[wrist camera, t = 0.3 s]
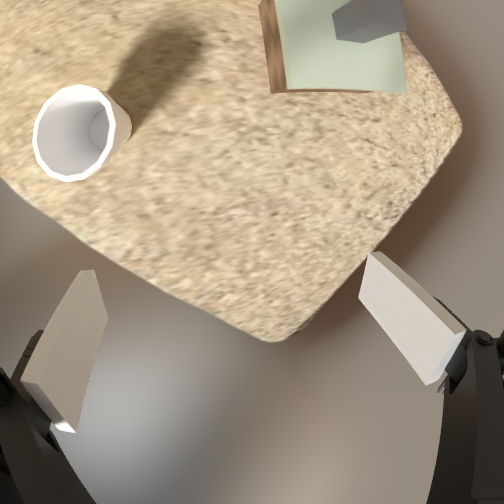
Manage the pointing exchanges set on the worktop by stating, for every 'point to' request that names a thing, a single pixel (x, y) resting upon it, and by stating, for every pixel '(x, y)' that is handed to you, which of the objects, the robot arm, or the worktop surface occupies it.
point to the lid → (343, 44)
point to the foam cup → (79, 132)
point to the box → (280, 52)
